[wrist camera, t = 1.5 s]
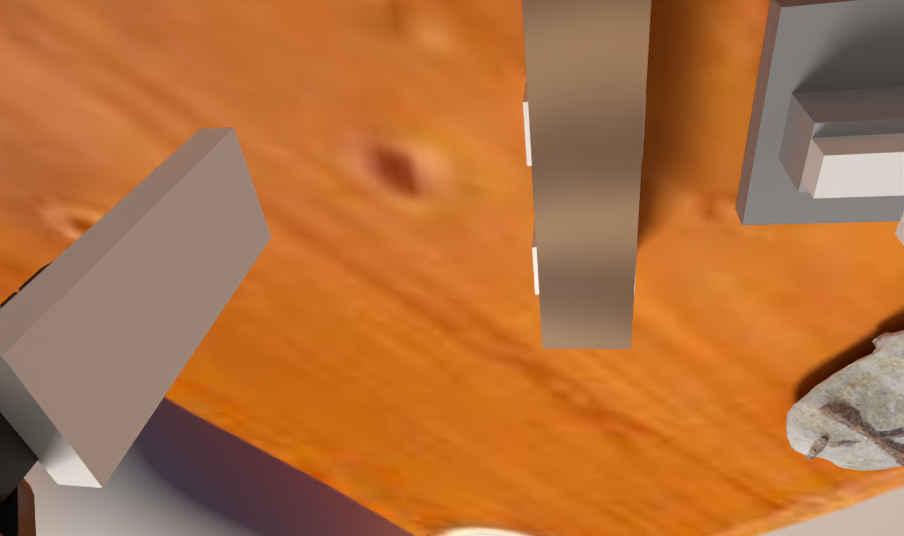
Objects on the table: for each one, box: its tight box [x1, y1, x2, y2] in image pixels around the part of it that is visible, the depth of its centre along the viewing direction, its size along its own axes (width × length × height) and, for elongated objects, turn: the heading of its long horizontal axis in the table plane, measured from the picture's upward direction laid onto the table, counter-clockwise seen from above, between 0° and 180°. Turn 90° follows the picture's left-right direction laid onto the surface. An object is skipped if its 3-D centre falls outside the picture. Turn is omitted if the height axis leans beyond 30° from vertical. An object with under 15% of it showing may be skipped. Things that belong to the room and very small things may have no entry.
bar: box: [522, 0, 651, 349], centre depth 24 cm, size 20×4×4 cm, turn 8°
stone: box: [786, 330, 904, 471], centre depth 35 cm, size 12×9×3 cm
